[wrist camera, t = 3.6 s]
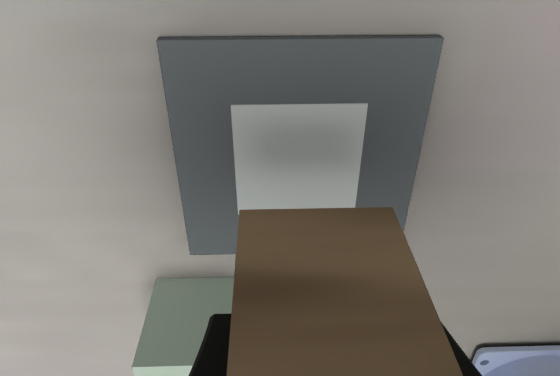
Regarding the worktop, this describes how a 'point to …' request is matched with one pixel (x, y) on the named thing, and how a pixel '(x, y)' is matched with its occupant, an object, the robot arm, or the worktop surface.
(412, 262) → the block walnut
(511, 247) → the worktop surface
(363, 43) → the pad
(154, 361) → the block sage
